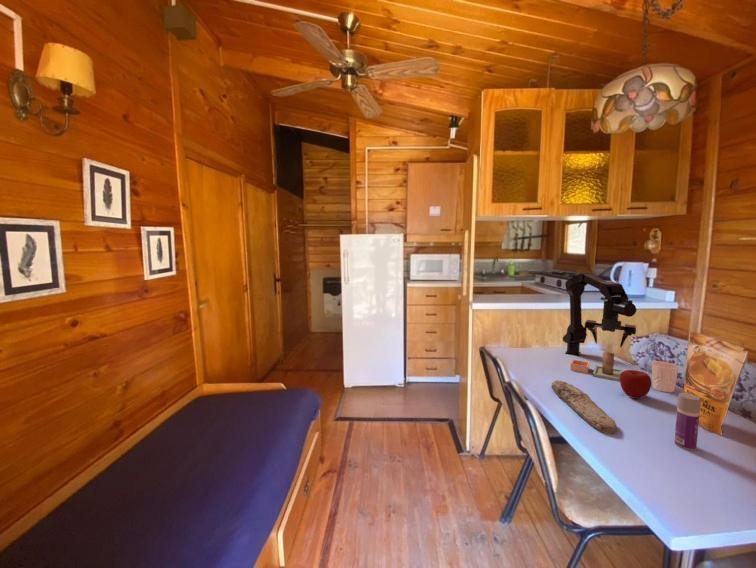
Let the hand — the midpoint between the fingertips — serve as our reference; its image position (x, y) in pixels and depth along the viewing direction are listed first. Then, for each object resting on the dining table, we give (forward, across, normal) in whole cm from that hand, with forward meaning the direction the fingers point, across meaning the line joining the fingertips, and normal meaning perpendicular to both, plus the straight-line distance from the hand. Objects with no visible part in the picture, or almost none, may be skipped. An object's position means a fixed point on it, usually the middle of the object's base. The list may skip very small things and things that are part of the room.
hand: (608, 345), depth 151 cm
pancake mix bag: (+11, +29, -34) cm, 46 cm away
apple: (+12, +11, -24) cm, 29 cm away
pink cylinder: (+12, +20, -10) cm, 25 cm away
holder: (+12, -10, -7) cm, 17 cm away
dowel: (+11, +1, -6) cm, 13 cm away
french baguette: (+12, -4, -45) cm, 47 cm away
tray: (+12, +1, -6) cm, 13 cm away
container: (+11, +23, -54) cm, 60 cm away
